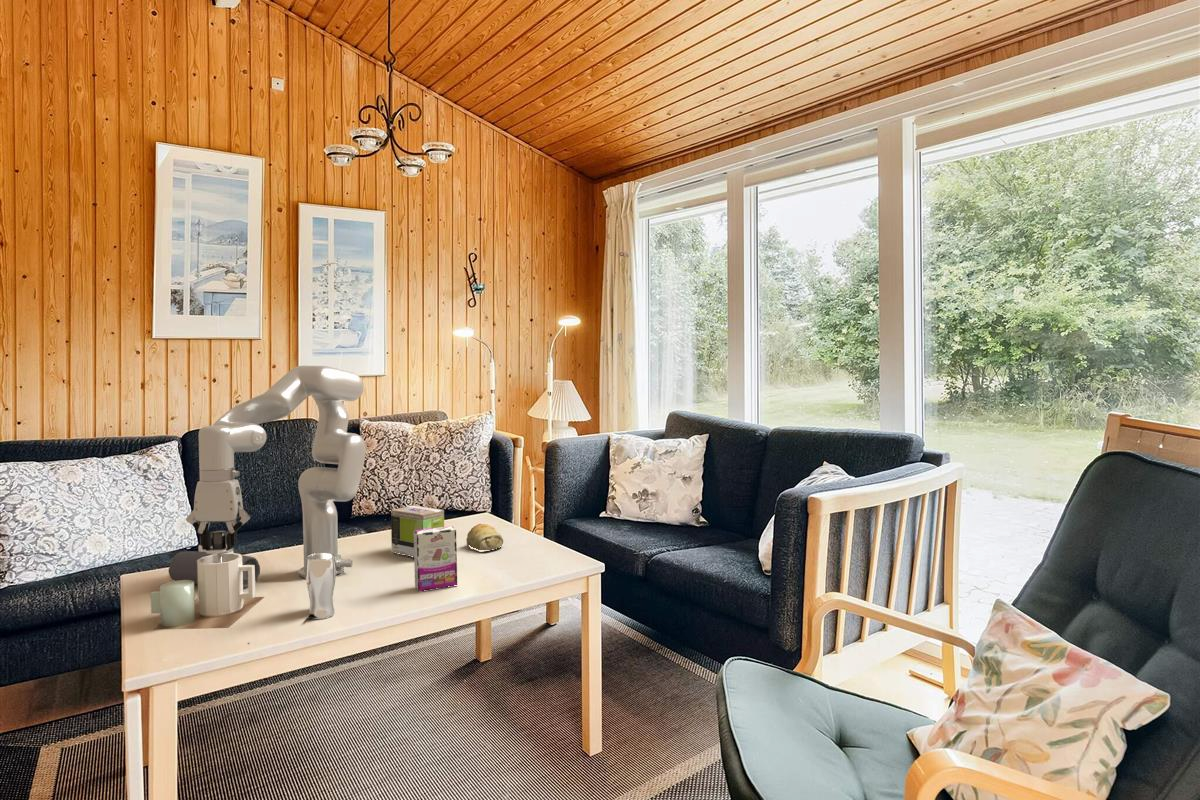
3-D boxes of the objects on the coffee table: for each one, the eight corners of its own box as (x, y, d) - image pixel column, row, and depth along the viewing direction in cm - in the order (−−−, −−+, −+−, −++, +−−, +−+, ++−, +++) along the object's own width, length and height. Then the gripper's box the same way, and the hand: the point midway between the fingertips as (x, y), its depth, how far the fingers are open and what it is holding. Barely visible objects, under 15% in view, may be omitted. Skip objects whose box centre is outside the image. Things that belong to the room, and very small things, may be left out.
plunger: (240, 592, 177) (238, 528, 176) (228, 601, 171) (226, 535, 170) (213, 593, 177) (211, 528, 176) (200, 602, 170) (198, 535, 169)
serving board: (264, 601, 184) (264, 596, 184) (228, 632, 163) (228, 627, 163) (197, 602, 182) (197, 598, 182) (152, 634, 161) (152, 629, 161)
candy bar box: (452, 581, 201) (452, 525, 200) (457, 586, 196) (457, 529, 195) (413, 587, 196) (413, 529, 195) (417, 592, 191) (417, 533, 190)
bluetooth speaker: (262, 586, 196) (261, 551, 196) (238, 597, 187) (237, 560, 186) (194, 579, 201) (193, 545, 201) (167, 590, 192) (166, 554, 192)
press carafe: (262, 602, 179) (260, 552, 179) (246, 616, 170) (244, 563, 169) (210, 603, 178) (208, 553, 178) (191, 617, 169) (189, 564, 168)
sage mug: (200, 615, 170) (199, 579, 169) (186, 627, 163) (184, 589, 162) (160, 616, 169) (159, 580, 169) (144, 628, 162) (143, 590, 162)
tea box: (445, 553, 229) (445, 509, 228) (422, 561, 221) (422, 515, 220) (413, 546, 237) (413, 503, 236) (390, 553, 229) (389, 509, 228)
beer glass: (311, 610, 177) (310, 552, 176) (339, 609, 178) (339, 551, 177) (302, 620, 170) (301, 560, 169) (331, 619, 171) (330, 559, 170)
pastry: (472, 541, 244) (472, 519, 244) (507, 543, 243) (507, 520, 243) (460, 552, 230) (460, 529, 230) (497, 554, 229) (497, 530, 229)
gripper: (259, 472, 176) (260, 543, 177) (188, 473, 175) (190, 544, 176) (246, 478, 169) (248, 551, 170) (173, 478, 167) (175, 552, 169)
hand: (219, 547), depth 173 cm, fingers closed on plunger, 5 cm apart
